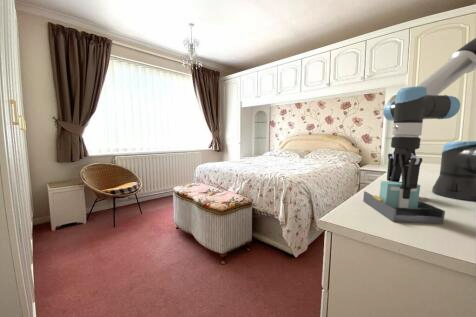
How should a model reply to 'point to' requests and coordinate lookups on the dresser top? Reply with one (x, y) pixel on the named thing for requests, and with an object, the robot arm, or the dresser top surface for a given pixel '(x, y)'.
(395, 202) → the teal box
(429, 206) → the tray
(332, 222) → the dresser top surface
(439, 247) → the dresser top surface
